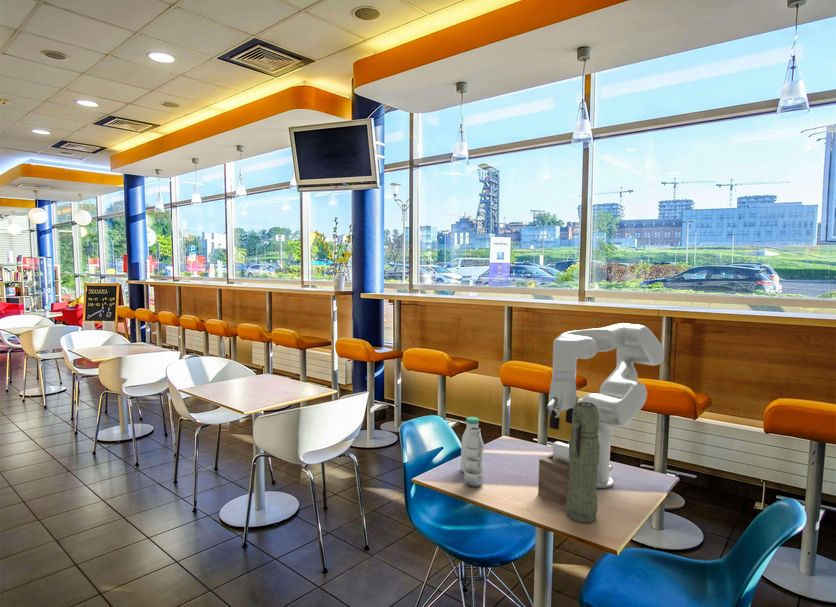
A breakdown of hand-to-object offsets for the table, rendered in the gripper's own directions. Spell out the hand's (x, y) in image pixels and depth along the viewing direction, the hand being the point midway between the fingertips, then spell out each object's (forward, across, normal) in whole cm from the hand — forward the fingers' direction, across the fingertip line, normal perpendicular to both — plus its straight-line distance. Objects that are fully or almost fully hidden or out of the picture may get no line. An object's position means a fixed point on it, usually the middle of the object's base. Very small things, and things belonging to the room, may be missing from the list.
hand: (562, 425), depth 170 cm
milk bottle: (+24, +8, -33) cm, 41 cm away
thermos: (+24, +9, +13) cm, 28 cm away
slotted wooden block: (+24, 0, 0) cm, 24 cm away
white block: (+16, 0, +1) cm, 16 cm away
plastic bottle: (+24, +16, -24) cm, 37 cm away
